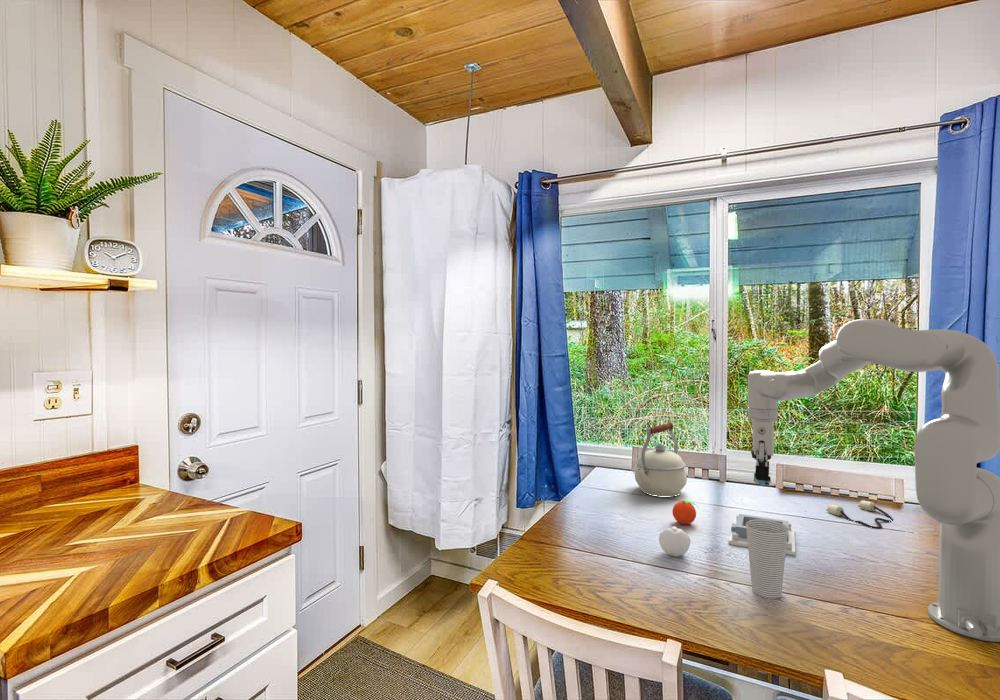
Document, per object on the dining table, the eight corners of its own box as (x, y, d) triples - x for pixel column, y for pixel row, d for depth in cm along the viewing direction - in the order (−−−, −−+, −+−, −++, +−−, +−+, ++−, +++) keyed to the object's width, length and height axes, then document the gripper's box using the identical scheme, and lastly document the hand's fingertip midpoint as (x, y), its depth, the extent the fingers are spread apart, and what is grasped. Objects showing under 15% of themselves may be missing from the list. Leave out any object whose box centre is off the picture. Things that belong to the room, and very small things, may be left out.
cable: (912, 525, 153) (912, 513, 153) (872, 532, 148) (872, 520, 148) (863, 507, 168) (863, 497, 168) (824, 513, 163) (824, 503, 163)
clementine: (696, 519, 159) (696, 497, 159) (702, 528, 152) (702, 505, 152) (670, 519, 160) (669, 497, 159) (675, 527, 153) (675, 504, 152)
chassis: (795, 555, 133) (795, 540, 133) (728, 543, 141) (728, 529, 141) (793, 531, 148) (794, 517, 148) (734, 521, 156) (734, 509, 156)
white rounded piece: (689, 550, 137) (689, 522, 137) (691, 563, 130) (691, 533, 129) (658, 547, 139) (658, 520, 139) (659, 560, 132) (659, 531, 132)
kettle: (655, 480, 200) (655, 418, 199) (699, 491, 186) (698, 424, 185) (616, 494, 184) (615, 426, 183) (660, 507, 170) (660, 434, 169)
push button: (779, 487, 140) (779, 452, 140) (761, 488, 140) (760, 453, 139) (764, 480, 147) (764, 446, 146) (747, 481, 146) (747, 447, 146)
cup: (750, 579, 121) (750, 515, 120) (791, 590, 115) (791, 524, 115) (741, 594, 114) (741, 527, 114) (783, 606, 109) (784, 536, 108)
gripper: (777, 420, 134) (777, 487, 135) (777, 410, 149) (777, 471, 149) (745, 418, 138) (745, 483, 138) (749, 408, 152) (749, 468, 153)
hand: (762, 476), depth 144 cm, fingers closed on push button, 5 cm apart
